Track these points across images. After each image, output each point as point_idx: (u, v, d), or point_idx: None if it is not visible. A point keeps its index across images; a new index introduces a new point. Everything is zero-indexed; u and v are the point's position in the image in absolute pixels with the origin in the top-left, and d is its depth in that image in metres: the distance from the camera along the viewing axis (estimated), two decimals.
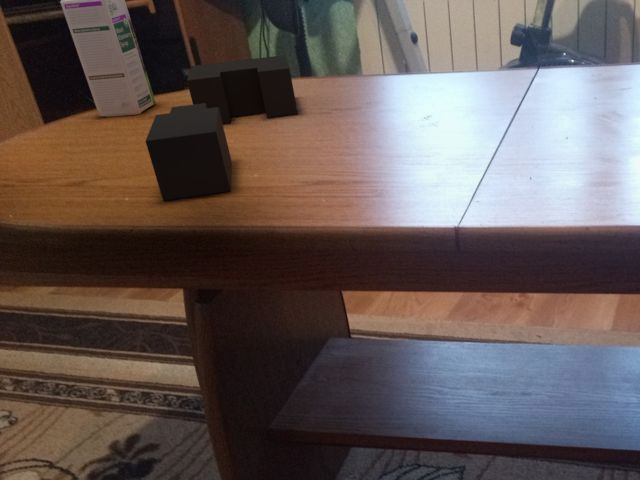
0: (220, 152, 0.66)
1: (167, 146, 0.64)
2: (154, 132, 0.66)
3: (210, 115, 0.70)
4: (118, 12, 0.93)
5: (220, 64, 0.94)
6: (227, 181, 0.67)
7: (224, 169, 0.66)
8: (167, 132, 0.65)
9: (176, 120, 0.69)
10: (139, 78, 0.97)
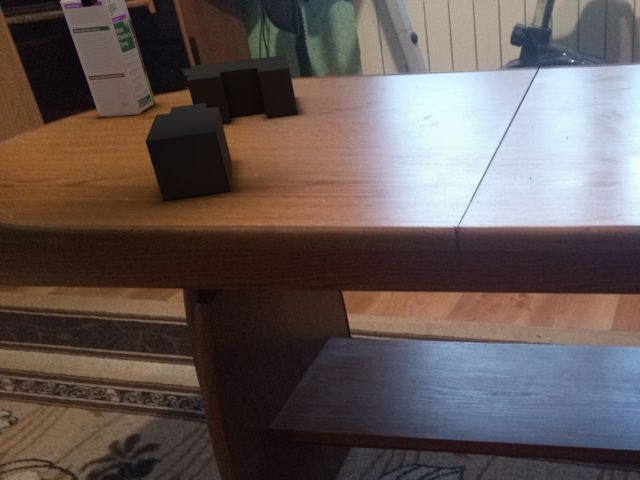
0: (220, 152, 0.66)
1: (167, 146, 0.64)
2: (154, 132, 0.66)
3: (210, 115, 0.70)
4: (118, 12, 0.93)
5: (220, 64, 0.94)
6: (227, 181, 0.67)
7: (224, 169, 0.66)
8: (167, 132, 0.65)
9: (176, 120, 0.69)
10: (139, 78, 0.97)
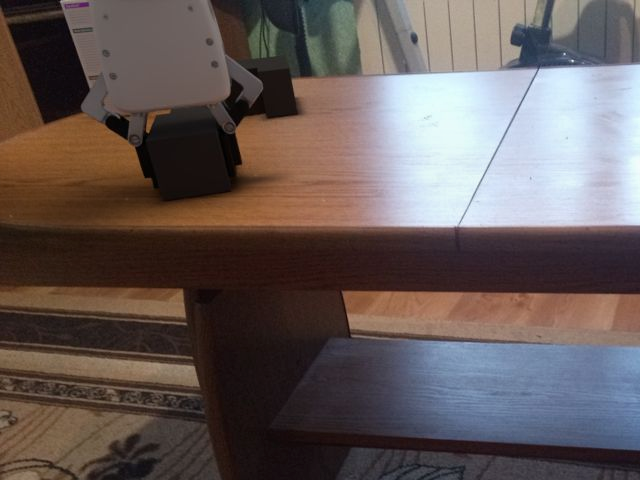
0: (220, 152, 0.66)
1: (167, 146, 0.64)
2: (154, 132, 0.66)
3: (210, 115, 0.70)
4: None
5: None
6: (227, 181, 0.67)
7: (224, 169, 0.66)
8: (167, 132, 0.65)
9: (176, 120, 0.69)
10: None
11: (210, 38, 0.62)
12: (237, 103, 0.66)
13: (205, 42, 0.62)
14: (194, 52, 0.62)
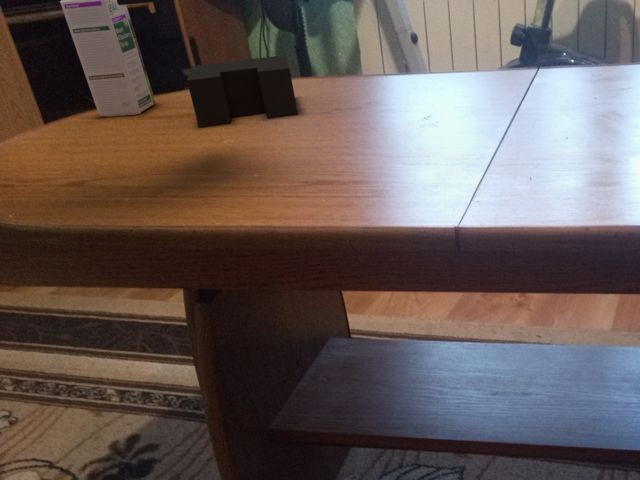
0: None
1: None
2: None
3: None
4: (118, 12, 0.93)
5: (220, 64, 0.94)
6: None
7: None
8: None
9: None
10: (139, 78, 0.97)
11: None
12: None
13: None
14: None
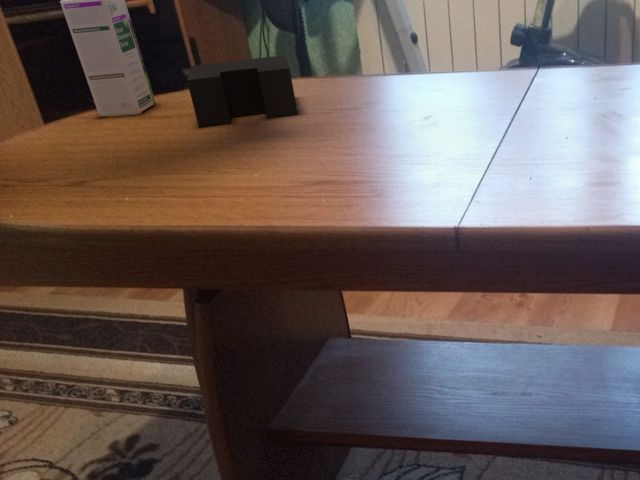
0: None
1: None
2: None
3: None
4: (118, 12, 0.93)
5: (220, 64, 0.94)
6: None
7: None
8: None
9: None
10: (139, 78, 0.97)
11: None
12: None
13: None
14: None
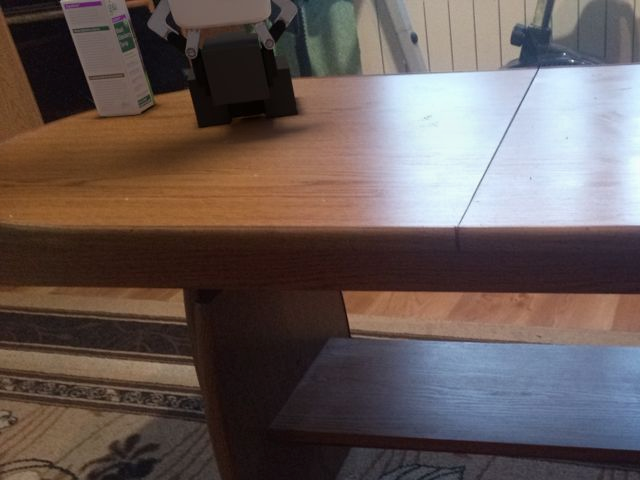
0: (262, 63, 0.78)
1: (218, 57, 0.77)
2: (206, 47, 0.78)
3: (251, 37, 0.82)
4: (118, 12, 0.93)
5: None
6: (267, 89, 0.79)
7: (265, 79, 0.79)
8: (218, 47, 0.78)
9: (223, 40, 0.82)
10: (139, 78, 0.97)
11: None
12: (276, 23, 0.78)
13: None
14: None
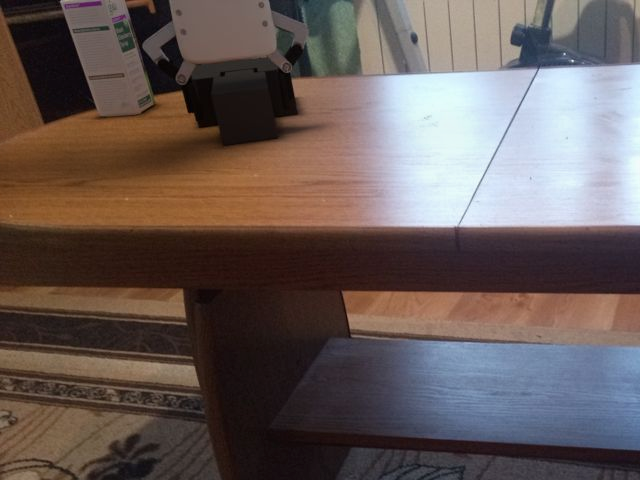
0: (270, 105, 0.80)
1: (228, 99, 0.79)
2: (216, 89, 0.80)
3: (259, 77, 0.85)
4: (118, 12, 0.93)
5: (220, 64, 0.94)
6: (275, 129, 0.82)
7: (273, 119, 0.81)
8: (227, 88, 0.80)
9: (232, 80, 0.84)
10: (139, 78, 0.97)
11: (262, 2, 0.76)
12: (293, 47, 0.80)
13: (258, 5, 0.76)
14: (249, 13, 0.76)
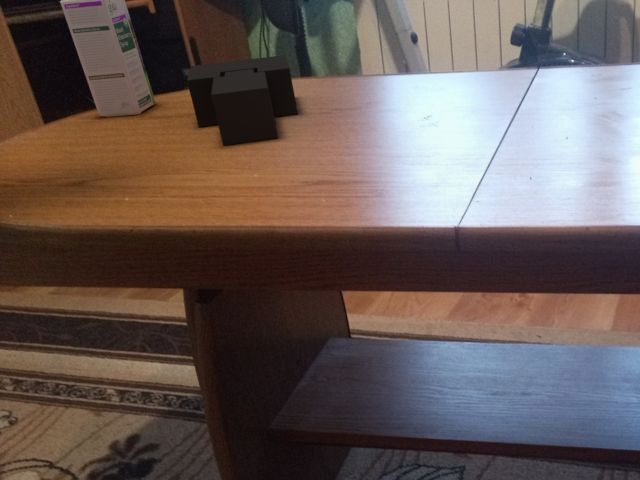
0: (270, 105, 0.80)
1: (228, 99, 0.79)
2: (216, 89, 0.80)
3: (259, 77, 0.85)
4: (118, 12, 0.93)
5: (220, 64, 0.94)
6: (275, 129, 0.82)
7: (273, 119, 0.81)
8: (227, 88, 0.80)
9: (232, 80, 0.84)
10: (139, 78, 0.97)
11: None
12: None
13: None
14: None
